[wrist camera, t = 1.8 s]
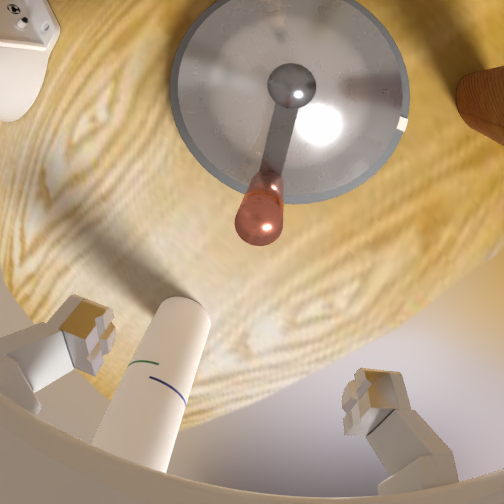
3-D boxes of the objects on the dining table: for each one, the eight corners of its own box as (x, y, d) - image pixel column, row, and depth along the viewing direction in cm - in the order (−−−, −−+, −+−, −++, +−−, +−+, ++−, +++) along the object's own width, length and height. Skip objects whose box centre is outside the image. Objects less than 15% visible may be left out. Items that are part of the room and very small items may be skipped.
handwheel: (207, -21, 17) (169, -67, 9) (415, 30, 17) (472, 8, 9) (167, 174, 27) (116, 212, 18) (360, 221, 27) (389, 278, 18)
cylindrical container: (201, 345, 40) (148, 516, 18) (153, 324, 39) (78, 486, 18) (218, 311, 37) (160, 512, 15) (165, 287, 36) (71, 474, 14)
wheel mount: (150, 31, 22) (141, 28, 20) (362, -26, 17) (367, -34, 15) (219, 220, 31) (215, 228, 29) (419, 172, 26) (428, 178, 24)
